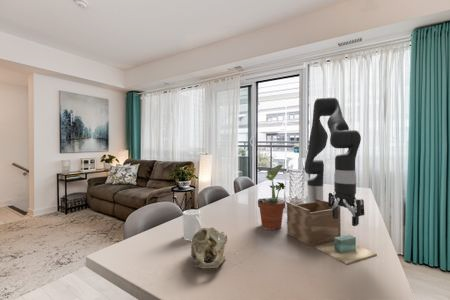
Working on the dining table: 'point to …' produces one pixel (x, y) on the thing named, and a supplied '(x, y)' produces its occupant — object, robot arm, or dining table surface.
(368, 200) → the dining table surface
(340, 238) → the lid
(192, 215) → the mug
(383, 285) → the dining table surface
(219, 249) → the skull
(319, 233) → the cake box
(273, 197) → the potted plant
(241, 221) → the dining table surface
